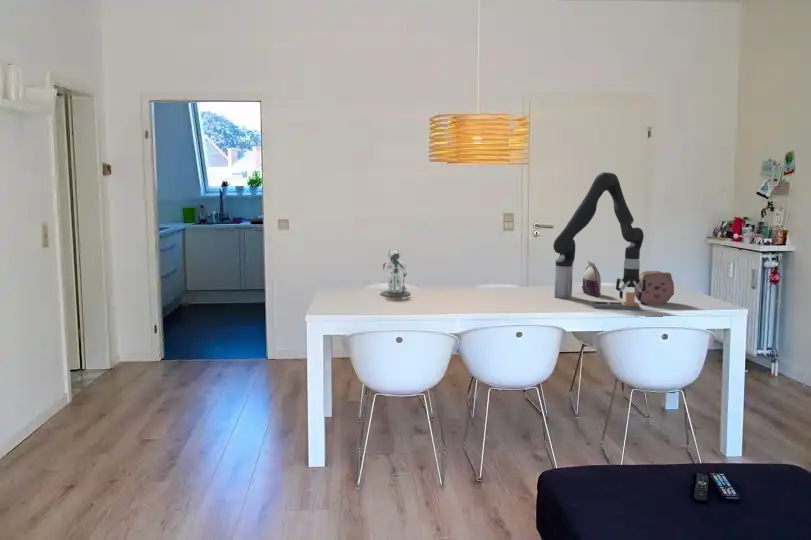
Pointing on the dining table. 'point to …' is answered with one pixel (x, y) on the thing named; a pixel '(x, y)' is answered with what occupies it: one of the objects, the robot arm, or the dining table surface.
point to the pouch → (592, 280)
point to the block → (630, 298)
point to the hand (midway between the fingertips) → (630, 298)
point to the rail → (615, 305)
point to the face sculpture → (656, 287)
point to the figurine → (395, 276)
